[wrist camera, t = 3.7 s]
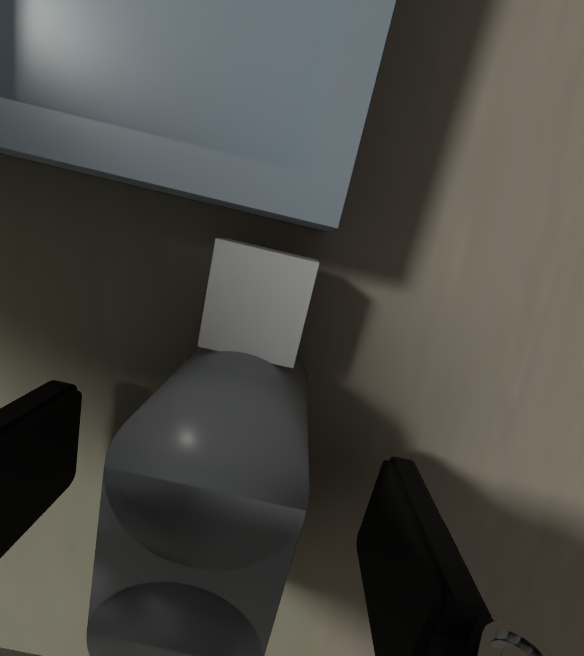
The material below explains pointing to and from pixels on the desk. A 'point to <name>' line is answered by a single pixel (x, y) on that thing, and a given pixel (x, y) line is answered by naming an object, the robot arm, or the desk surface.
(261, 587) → the graphite plug
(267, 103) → the tray
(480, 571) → the desk surface
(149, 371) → the desk surface
